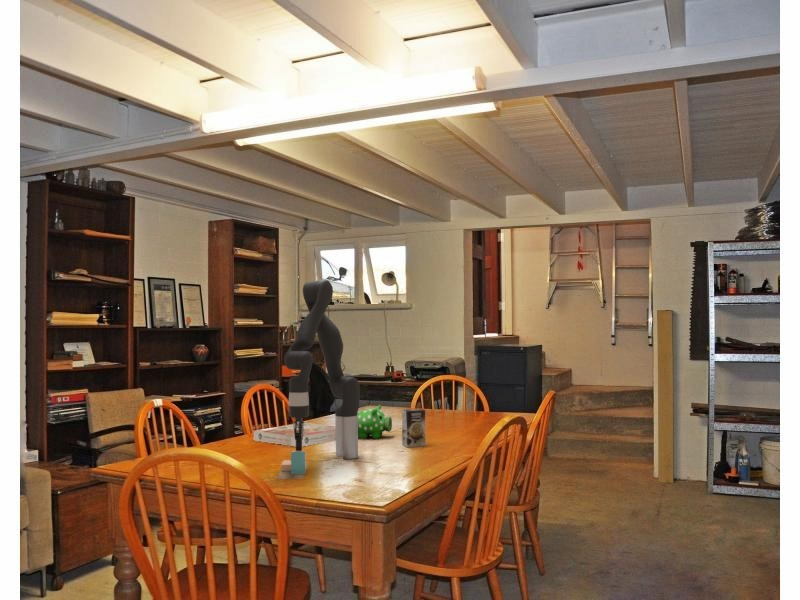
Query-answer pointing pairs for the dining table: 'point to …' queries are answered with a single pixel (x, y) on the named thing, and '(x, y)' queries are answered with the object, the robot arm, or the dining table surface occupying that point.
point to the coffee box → (413, 427)
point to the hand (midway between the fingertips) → (298, 450)
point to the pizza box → (287, 437)
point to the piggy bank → (373, 423)
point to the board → (291, 475)
